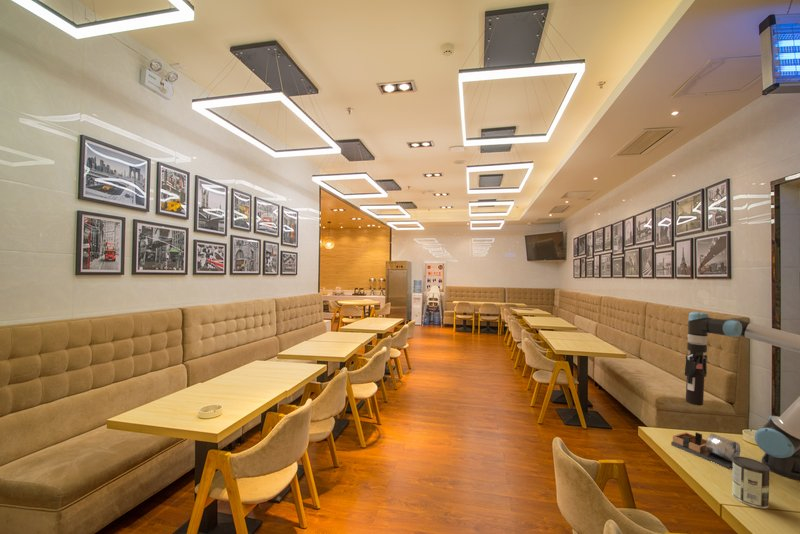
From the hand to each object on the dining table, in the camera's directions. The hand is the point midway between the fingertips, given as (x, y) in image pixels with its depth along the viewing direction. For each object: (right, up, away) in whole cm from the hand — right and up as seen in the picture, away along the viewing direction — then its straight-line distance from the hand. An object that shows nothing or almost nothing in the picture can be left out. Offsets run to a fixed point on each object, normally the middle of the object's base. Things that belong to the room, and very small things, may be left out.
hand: (695, 389), depth 176 cm
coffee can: (-13, -28, -41) cm, 51 cm away
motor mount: (0, -29, -6) cm, 30 cm away
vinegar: (0, -7, 0) cm, 7 cm away
